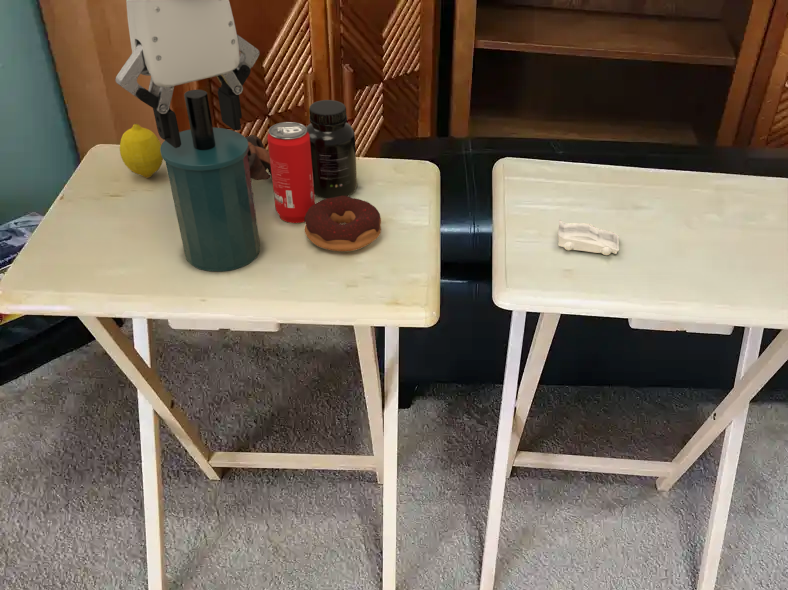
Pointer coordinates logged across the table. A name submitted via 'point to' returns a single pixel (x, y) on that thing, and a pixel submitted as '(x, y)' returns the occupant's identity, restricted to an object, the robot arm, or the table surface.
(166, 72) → the robot arm
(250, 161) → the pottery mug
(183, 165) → the lid
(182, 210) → the pot
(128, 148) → the fruit
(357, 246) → the donut
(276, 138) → the beverage can
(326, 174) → the supplement bottle
